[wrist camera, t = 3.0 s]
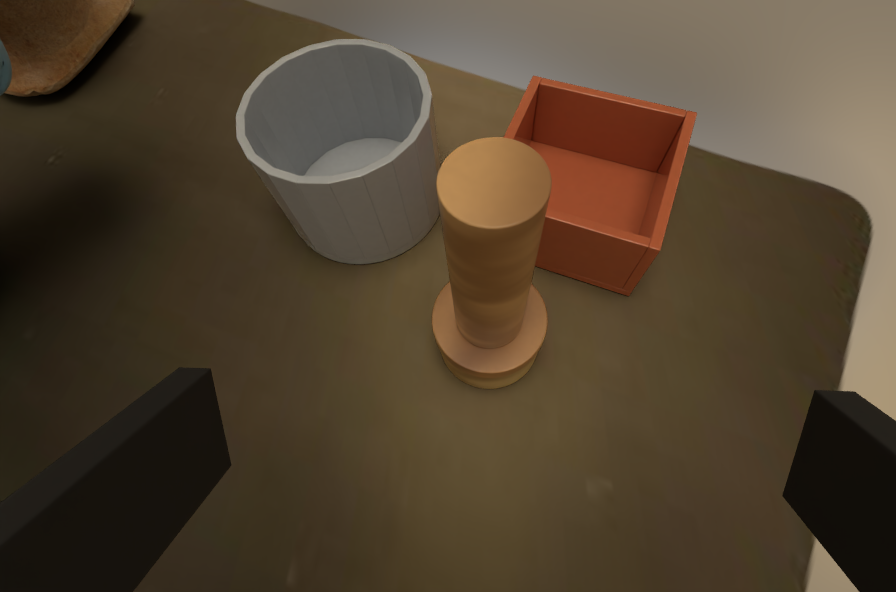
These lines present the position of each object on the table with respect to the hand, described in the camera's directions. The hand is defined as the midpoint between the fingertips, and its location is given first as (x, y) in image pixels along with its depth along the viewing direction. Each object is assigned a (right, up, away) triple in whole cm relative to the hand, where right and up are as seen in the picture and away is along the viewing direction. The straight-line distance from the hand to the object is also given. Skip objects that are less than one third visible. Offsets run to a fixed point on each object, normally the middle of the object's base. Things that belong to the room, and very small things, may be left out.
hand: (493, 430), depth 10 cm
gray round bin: (-7, +10, +23) cm, 26 cm away
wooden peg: (+1, 0, +17) cm, 17 cm away
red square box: (+8, +9, +21) cm, 24 cm away
